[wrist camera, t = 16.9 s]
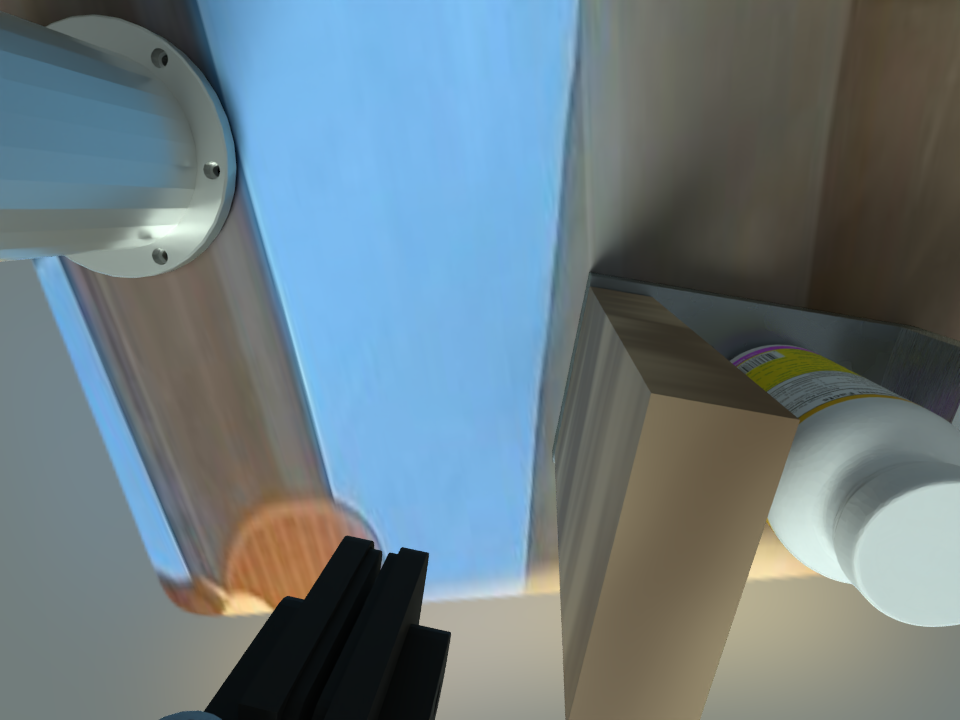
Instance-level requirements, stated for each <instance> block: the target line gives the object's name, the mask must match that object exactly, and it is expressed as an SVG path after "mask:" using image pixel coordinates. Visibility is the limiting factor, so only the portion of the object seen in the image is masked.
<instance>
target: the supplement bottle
mask: <svg viewBox="0 0 960 720" xmlns="http://www.w3.org/2000/svg"><path fill="white" fill-rule="evenodd" d="M730 362H731V363H732V364H733V365H735V366H736V367H737V368H738V369H740V370H741V371H742V372H743V373H744V374H746V375H747V376H748V377H749V378H750V379H752V380H753V381H754V382H755V383H756V384H758V385H759V386H760V387H761V388H762V389H764V390H765V391H766V392H767V393H768V394H770V395H771V396H772V397H773V398H774V399H776V400H777V401H778V402H779V403H780V404H782V405H783V406H784V407H785V408H786V409H788V410H789V411H790V412H791V413H792V414H794V415H795V416H796V417H797V418H798V419H800V422H799V425H798V428H797V431H796V434H795V437H794V440H793V443H792V446H791V449H790V452H789V455H788V458H787V461H786V464H785V467H784V470H783V473H782V476H781V479H780V482H779V485H778V488H777V491H776V494H775V496H774V499H773V502H772V505H771V508H770V511H769V514H768V517H767V520H766V522H767V523H768V524H769V526H770V527H771V529H772V530H773V532H774V533H775V534H776V536H777V537H778V538H779V540H780V541H781V542H782V544H783V545H784V546H785V547H786V548H787V550H788V551H789V552H790V553H791V554H792V555H793V556H794V557H795V558H797V559H798V560H799V561H800V562H801V563H803V564H804V565H805V566H807V567H809V568H810V569H812V570H813V571H815V572H817V573H819V574H821V575H823V576H825V577H828V578H830V579H833V580H836V581H840V582H844V583H849V584H853V585H854V586H855V587H856V588H857V589H858V590H859V591H860V593H861V594H862V595H863V596H864V597H865V598H866V599H867V600H868V601H869V602H870V603H871V604H872V605H873V606H874V607H876V608H877V609H878V610H879V611H881V612H883V613H884V614H885V615H887V616H889V617H891V618H894V619H896V620H898V621H901V622H904V623H907V624H912V625H918V626H926V627H938V626H939V627H940V626H950V625H957V624H960V431H959V430H958V429H957V428H955V427H954V426H953V425H952V424H951V423H949V422H948V421H947V420H945V419H944V418H942V417H940V416H939V415H937V414H935V413H933V412H931V411H929V410H928V409H926V408H924V407H922V406H920V405H918V404H916V403H914V402H912V401H909V400H908V399H906V398H903V397H901V396H899V395H897V394H895V393H893V392H891V391H889V390H887V389H886V388H884V387H882V386H880V385H878V384H876V383H874V382H872V381H870V380H868V379H866V378H864V377H862V376H860V375H858V374H856V373H854V372H852V371H850V370H848V369H846V368H845V367H843V366H841V365H839V364H837V363H835V362H833V361H831V360H829V359H827V358H825V357H823V356H821V355H819V354H817V353H814V352H812V351H809V350H807V349H804V348H801V347H797V346H792V345H767V346H761V347H757V348H754V349H751V350H748V351H746V352H744V353H741V354H740V355H738V356H736V357H735V358H733V359H732V360H730Z"/></svg>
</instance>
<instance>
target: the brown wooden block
mask: <svg viewBox="0 0 960 720" xmlns="http://www.w3.org/2000/svg"><path fill="white" fill-rule="evenodd" d="M799 422H800V419H798V418H797V417H796V416H795V415H794V414H792V413H791V412H790V411H789V410H788V409H786V408H785V407H784V406H783V405H782V404H780V403H779V402H778V401H777V400H776V399H774V398H773V397H772V396H771V395H770V394H768V393H767V392H766V391H765V390H764V389H762V388H761V387H760V386H759V385H758V384H756V383H755V382H754V381H753V380H752V379H750V378H749V377H748V376H747V375H746V374H744V373H743V372H742V371H741V370H740V369H738V368H737V367H736V366H735V365H733V364H732V363H731V362H730V361H729V360H727V359H726V358H725V357H724V356H723V355H721V354H720V353H719V352H718V351H717V350H715V349H714V348H713V347H712V346H711V345H709V344H708V343H707V342H706V341H705V340H703V339H702V338H701V337H700V336H699V335H697V334H696V333H695V332H694V331H693V330H691V329H690V328H689V327H688V326H687V325H685V324H684V323H683V322H682V321H681V320H679V319H678V318H677V317H676V316H675V315H673V314H672V313H671V312H670V311H669V310H667V309H666V308H665V307H664V306H663V305H661V304H660V303H659V302H658V301H657V300H655V299H654V298H653V297H650V296H644V295H638V294H632V293H626V292H620V291H615V290H609V289H603V288H597V287H591V286H590V288H589V293H588V298H587V302H586V307H585V312H584V317H583V321H582V326H581V331H580V336H579V341H578V345H577V350H576V355H575V360H574V365H573V369H572V374H571V379H570V384H569V389H568V393H567V398H566V403H565V408H564V412H563V417H562V422H561V427H560V432H559V436H558V441H557V446H556V451H555V477H556V501H557V525H558V549H559V573H560V598H561V622H562V645H563V670H564V692H565V717H566V718H565V719H566V720H700V718H701V715H702V712H703V709H704V705H705V703H706V700H707V697H708V694H709V691H710V688H711V685H712V682H713V679H714V676H715V673H716V670H717V667H718V664H719V661H720V658H721V655H722V652H723V649H724V646H725V643H726V640H727V637H728V634H729V631H730V628H731V625H732V622H733V619H734V616H735V613H736V610H737V607H738V604H739V601H740V598H741V595H742V592H743V589H744V586H745V583H746V580H747V577H748V574H749V571H750V568H751V565H752V562H753V559H754V556H755V553H756V550H757V547H758V544H759V541H760V538H761V535H762V532H763V529H764V526H765V523H766V520H767V517H768V514H769V511H770V508H771V505H772V502H773V499H774V496H775V494H776V491H777V488H778V485H779V482H780V479H781V476H782V473H783V470H784V467H785V464H786V461H787V458H788V455H789V452H790V449H791V446H792V443H793V440H794V437H795V434H796V431H797V428H798V425H799Z"/></svg>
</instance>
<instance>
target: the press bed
mask: <svg viewBox="0 0 960 720" xmlns="http://www.w3.org/2000/svg"><path fill="white" fill-rule="evenodd" d="M590 286H591V287H597V288H603V289H609V290H615V291H620V292H626V293H632V294H638V295H644V296H650V297H653V298H654V299H655V300H657V301H658V302H659V303H660V304H661V305H663V306H664V307H665V308H666V309H667V310H669V311H670V312H671V313H672V314H673V315H675V316H676V317H677V318H678V319H679V320H681V321H682V322H683V323H684V324H685V325H687V326H688V327H689V328H690V329H691V330H693V331H694V332H695V333H696V334H697V335H699V336H700V337H701V338H702V339H703V340H705V341H706V342H707V343H708V344H709V345H711V346H712V347H713V348H714V349H715V350H717V351H718V352H719V353H720V354H721V355H723V356H724V357H725V358H726V359H727V360H729V361H730V360H732V359H733V358H735V357H736V356H738V355H740V354H741V353H744V352H746V351H748V350H751V349H754V348H757V347H761V346H767V345H792V346H797V347H801V348H804V349H807V350H809V351H812V352H814V353H817V354H819V355H821V356H823V357H825V358H827V359H829V360H831V361H833V362H835V363H837V364H839V365H841V366H843V367H845V368H846V369H848V370H850V371H852V372H854V373H856V374H858V375H860V376H862V377H864V378H866V379H868V380H870V381H872V382H874V383H876V384H878V385H880V386H882V387H884V388H886V389H887V390H889V391H891V392H893V393H895V394H897V395H899V396H901V397H903V398H906V399H908V400H909V401H912V402H914V403H916V404H918V405H920V406H922V407H924V408H926V409H928V410H929V411H931V412H933V413H935V414H937V415H939V416H940V417H942V418H944V419H945V420H947V421H948V422H949V423H951V424H952V425H953V426H954V427H955V428H957V429H958V430H959V431H960V341H958V340H955V339H951V338H948V337H945V336H942V335H939V334H936V333H933V332H930V331H927V330H924V329H920V328H917V327H914V326H909V325H903V324H897V323H891V322H885V321H879V320H873V319H867V318H861V317H855V316H849V315H843V314H837V313H831V312H825V311H819V310H813V309H807V308H801V307H795V306H789V305H783V304H777V303H771V302H765V301H759V300H753V299H747V298H741V297H735V296H729V295H723V294H717V293H711V292H705V291H699V290H693V289H687V288H681V287H675V286H669V285H663V284H657V283H651V282H645V281H639V280H633V279H627V278H621V277H615V276H609V275H603V274H597V273H591V272H589V276H588V281H587V286H586V290H585V295H584V300H583V305H582V310H581V315H580V319H579V324H578V329H577V334H576V339H575V344H574V348H573V353H572V358H571V363H570V368H569V372H568V377H567V382H566V387H565V392H564V397H563V401H562V406H561V411H560V416H559V421H558V426H557V430H556V435H555V440H554V445H553V450H552V454H553V462H555V451H556V446H557V441H558V436H559V432H560V427H561V422H562V417H563V412H564V408H565V403H566V398H567V393H568V389H569V384H570V379H571V374H572V369H573V365H574V360H575V355H576V350H577V345H578V341H579V336H580V331H581V326H582V321H583V317H584V312H585V307H586V302H587V298H588V293H589V288H590Z"/></svg>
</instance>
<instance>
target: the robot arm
mask: <svg viewBox="0 0 960 720" xmlns="http://www.w3.org/2000/svg"><path fill="white" fill-rule="evenodd" d="M167 62H168V63H167ZM218 168H220V174H218ZM235 180H236V158H235V148H234V141H233V137H232V133H231V130H230V126H229V122H228V119H227V116H226V114H225V112H224V109H223V107H222V105H221V103H220V101H219V98H218V96H217V94H216V92H215V91H214V89H213V88H212V86H211V85H210V83H209V82H208V80H207V79H206V77H205V76H204V74H203V73H202V72H201V70H200V69H199V68H198V67H197V66H196V65H195V64H194V63H193V62H192V61H191V60H190V59H189V58H188V57H187V56H186V54H185V53H184V52H182V51H181V50H180V49H178V48H177V47H176V46H174V45H173V44H172V43H170V42H169V41H168V40H166V39H165V38H164V37H162V36H159V35H157V34H155V33H153V32H151V31H149V30H147V29H146V28H144V27H142V26H139V25H136V24H134V23H131V22H128V21H125V20H123V19H120V18H116V17H110V16H103V15H96V14H92V15H80V16H71V17H68V18H65V19H62V20H59V21H56V22H53V23H50V24H49V25H47V26H46V27H44V26H41V25H38V24H35V23H33V22H30V21H27V20H24V19H22V18H19V17H16V16H13V15H11V14H8V13H5V12H2V11H0V262H2V261H11V260H22V259H32V258H42V257H52V256H62V255H64V256H66V257H67V258H69V259H70V260H71V261H73V262H75V263H77V264H79V265H81V266H84V267H86V268H88V269H90V270H92V271H95V272H99V273H102V274H106V275H110V276H114V277H127V278H138V277H146V276H154V275H158V274H162V273H166V272H170V271H174V270H176V269H178V268H180V267H182V266H184V265H186V264H188V263H190V262H192V261H193V260H194V259H195V258H196V257H198V256H199V255H200V254H201V253H203V252H204V251H205V250H206V249H207V248H208V247H209V245H210V244H211V243H212V242H213V240H214V239H215V238H216V236H217V235H218V234H219V232H220V230H221V228H222V226H223V224H224V222H225V220H226V218H227V216H228V214H229V211H230V207H231V203H232V199H233V196H234V192H235ZM428 558H429V553H427V552H422V551H417V550H413V549H408V548H403V547H402V548H401V549H400V551H399V553H398V554H394V553H389V554H388V556H387V558H386V560H385V562H384V564H383V566H382V568H381V561H382V551H380V550H375V549H374V542H373V541H370V540H365V539H361V538H356V537H351V536H345V537H344V539H343V540H342V542H341V543H340V545H339V546H338V548H337V549H336V551H335V552H334V554H333V556H332V557H331V559H330V560H329V562H328V563H327V565H326V567H325V568H324V570H323V571H322V573H321V574H320V576H319V578H318V579H317V581H316V582H315V584H314V585H313V587H312V589H311V590H310V592H309V593H308V595H307V596H306V598H305V600H304V599H299V598H295V597H290V596H287V597H285V598H283V599H282V601H281V602H280V603H279V604H278V606H277V607H276V609H275V610H274V611H273V613H272V614H271V616H270V617H269V619H268V620H267V621H266V623H265V624H264V626H263V627H262V629H261V630H260V632H259V633H258V634H257V636H256V637H255V639H254V640H253V642H252V643H251V644H250V646H249V647H248V649H247V650H246V652H245V653H244V654H243V656H242V657H241V659H240V660H239V662H238V663H237V665H236V666H235V668H234V669H233V670H232V672H231V674H230V675H229V676H228V678H227V679H226V680H225V682H224V683H223V685H222V686H221V688H220V689H219V691H218V692H217V694H216V695H215V696H214V698H213V699H212V700H211V702H210V703H209V705H208V706H207V708H206V709H205V711H204V712H202V711H183V712H179V713H175V714H172V715H168V716H165V717H163V718H161V719H159V720H435V716H436V712H437V708H438V702H439V698H440V693H441V688H442V683H443V678H444V673H445V667H446V662H447V656H448V650H449V644H450V637H451V632H447V631H443V630H438V629H434V628H430V627H425V626H420V625H419V619H420V612H421V606H422V599H423V592H424V586H425V579H426V572H427V566H428ZM380 569H381V570H380Z"/></svg>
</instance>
